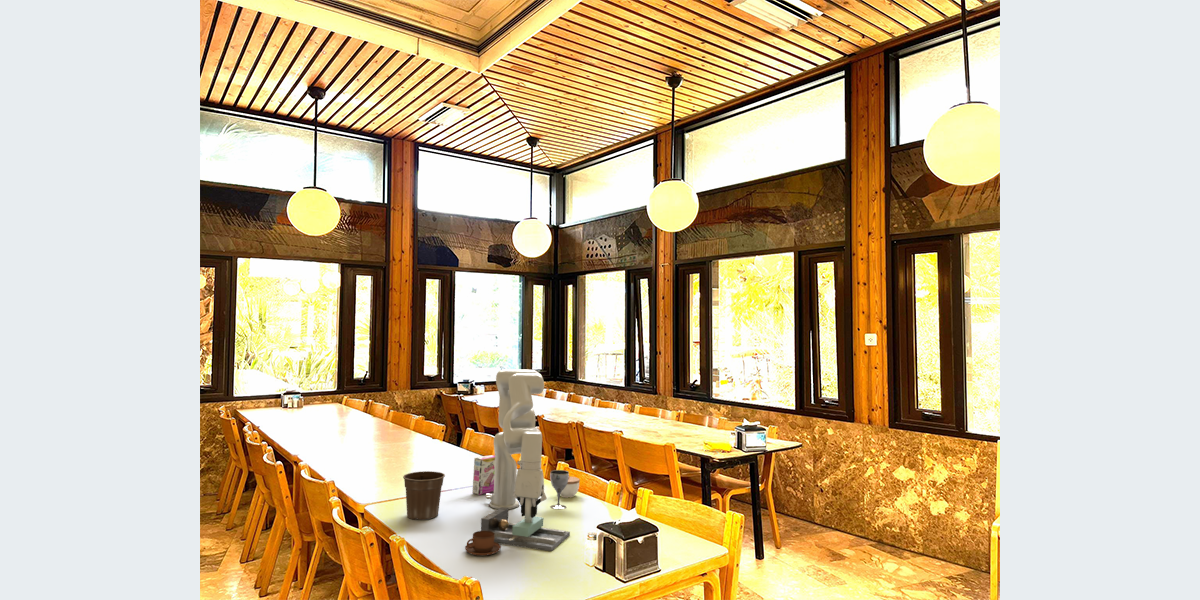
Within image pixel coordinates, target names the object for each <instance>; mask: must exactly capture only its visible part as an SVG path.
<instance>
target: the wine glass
mask: <svg viewBox="0 0 1200 600" xmlns="http://www.w3.org/2000/svg"><path fill="white" fill-rule="evenodd" d="M549 477H550V484H551V486H552V488H553V489H554V490H555V492H556V496H557V503H556V504H552V505H550V506H549V508H550V509H553V510H565V509H567V506H566V505H564V504H560V503H561V502H560V498H561V495H560V494H561V492H562V490H563V489H564V488H565V487H566V486H567V483H568V478H569V477H570V473H569V471H567V470H564V469H563V470H562V469H554V470H551V471H550V475H549Z"/></svg>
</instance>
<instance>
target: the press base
mask: <svg viewBox="0 0 1200 600" xmlns="http://www.w3.org/2000/svg"><path fill="white" fill-rule="evenodd" d="M509 510H510V509H509V508H504V507H501V508H499V509H496V510H494V511H492V512H490V513H489V514H487V515H485V516H483V517H481V519H480V521H481V522H480V531H491V532H494V534H495V536H494V542H496V543H499V544H500V545H505V546H514V547H520V548H526V549H533V550H538V551H539V550H540V551H545V552H552V551H554V550H555V549H556V548H557V547H558V546H559V545H561V544H562V543H563V542H564V541H565V540H567V539H568V538H569V537H571V536H570V535H571V531H568V530H562V529H555V528H550V527H549V528H548V527H543V526H542V527H541V528H539V529H538V530H537V531H535V532H534V533H533V534H531V535H530V536H528V537H524V536H518V535H512V530H513V526H514V525H515V524H516V523H514V522H513V523H511V522H509Z"/></svg>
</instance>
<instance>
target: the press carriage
mask: <svg viewBox="0 0 1200 600" xmlns="http://www.w3.org/2000/svg"><path fill="white" fill-rule="evenodd" d="M532 506H533V502H532V498H525V516H524V518H523V519H521V520H520V521H518V522H517V523H514V524H515V525H514V526H513V530H512V535H518V536H524V537H528V536H530V535H531V534H533V533H534V532H535V531H537V530H538V529H539V528H541V527H542V528H543V527H544V517H540V516H535V517H533V518H531V507H532Z"/></svg>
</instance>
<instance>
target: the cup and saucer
mask: <svg viewBox="0 0 1200 600" xmlns="http://www.w3.org/2000/svg"><path fill="white" fill-rule="evenodd" d="M494 536H495V534H494V532H491V531H481V530H479V531H478V530H477V531H475V532H474V533H472V538H469V539H468V540H467V542H466V544H465V547H464V548H465V551H466V552H467V553H469V554H471V555H474V556H477V557H478V556H480V557H481V556H482V557H484V556H485V557H486V556H491V555H494V554H497V553H498V552H499V551H500V550H501V548H502V544H499V543H496V542H494Z"/></svg>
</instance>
